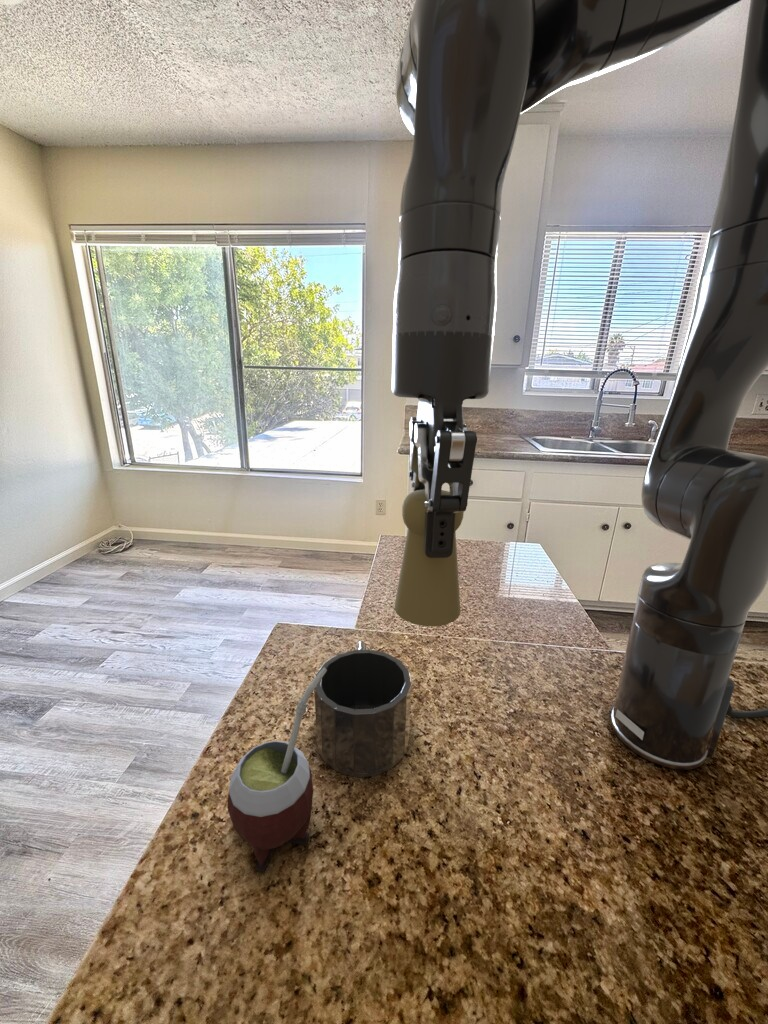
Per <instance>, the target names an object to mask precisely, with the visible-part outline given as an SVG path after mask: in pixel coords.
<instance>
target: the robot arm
mask: <svg viewBox="0 0 768 1024" xmlns="http://www.w3.org/2000/svg"><path fill="white" fill-rule="evenodd" d="M742 1H743V0H414V4H413V7H412V11H411V15H410V19H409V22H408V25H407V29H406V32H405V36H404V41H403V44H402V47H401V50H400V54H399V59H398V62H397V68H396V74H395V75H396V76H395V99H396V104H397V108H398V112H399V115H400V117H401V119H402V122H403V124H404V125H405V127H406V128H407V129H408V131H409V132H410V133H411V134H412V135H413V140H412V141H413V142H412V150H411V156H410V159H409V164H408V166H407V171H406V174H405V177H404V181H403V185H402V189H401V191H402V192H401V197H400V206H399V207H400V208H399V222H398V224H399V227H398V257H397V259H398V260H397V261H398V262H397V263H398V265H397V275H396V282H395V288H394V295H393V296H394V297H393V319H392V320H393V323H392V324H393V325H392V357H391V359H392V360H391V361H392V362H391V392H392V394H393V395H394V396H395V397H398V398H407V399H408V398H409V399H418V404H417V412H416V416H411V417H410V420H409V431H408V435H409V459H408V461H409V471H408V477H409V480H410V482H411V481H412V482H411V483H410V484H411V486H410V487H411V488H412V492H414V491H417V490H423V489H425V502H424V508H425V509H426V516H425V535H424V552H425V554H426V556H427V557H429V558H447V557H450V556H451V555H452V552H453V539H454V526H455V513H458V512H459V511H464V512H466V511H467V507H468V503H469V502H468V500H469V494H470V488H471V481H472V473H473V468H474V461H475V455H476V449H477V448H476V447H477V443H478V435H477V432H476V431H475V430H468V425H467V424H466V423H464V407H463V403H464V401H466V400H481V399H484V398H486V397H487V395H488V394H489V392H490V381H491V369H492V360H493V359H492V358H493V356H492V355H493V349H494V336H495V327H496V326H495V324H496V313H497V301H498V300H497V299H498V295H497V294H498V289H497V288H498V287H497V286H498V285H497V261H498V250H499V238H500V229H501V228H500V227H501V217H502V216H501V215H502V213H501V212H502V195H503V187H504V181H505V178H506V173H507V169H508V165H509V163H510V159H511V156H512V151H513V149H514V144H515V141H516V135H517V131H518V126H519V122H520V118H521V115H522V114H523V113H525V112H527V111H528V110H530V109H531V108H533V107H535V106H536V105H538V104H539V103H541V102H542V101H544V100H545V99H546V98H548V97H550V96H552V95H554V94H555V93H557V92H559V91H561V90H563V89H565V88H567V87H570V86H574V85H577V84H580V83H584V82H586V81H589V80H592V79H594V78H597V77H600V76H602V75H605V74H607V73H610V72H613V71H615V70H618V69H621V68H622V67H625V66H628V65H631V64H632V63H635V62H637V61H639V60H641V59H645V58H646V57H648V56H650V55H652V54H654V53H656V52H659V51H660V50H663V49H665V48H666V47H669V46H670V45H671V44H673V43H675V42H677V41H679V40H680V39H682V38H684V37H685V36H687V35H689V34H690V33H692V32H694V31H696V29H698V28H700V27H702V26H703V25H705V24H706V23H708V22H709V21H711V20H712V19H714V18H716V17H717V16H719V15H721V14H723V13H724V12H725V11H727V10H729V9H731V8H732V7H734V6H735V5H737V4H738V3H741V2H742ZM746 24H747V25H746V31H745V40H744V50H743V57H742V64H741V74H740V81H739V87H738V95H737V101H736V108H735V112H734V113H735V114H734V119H733V125H732V130H731V134H730V138H729V144H728V150H727V155H726V159H725V164H724V169H723V173H722V179H721V184H720V188H719V194H718V197H717V203H716V207H715V211H714V214H713V217H712V222H711V226H710V229H709V232H708V235H707V236H708V237H707V240H706V244H705V245H706V246H705V250H704V254H703V258H702V263H701V267H700V272H699V276H698V279H697V284H696V285H697V286H696V292H695V297H694V302H693V306H692V307H693V308H692V311H691V312H692V313H691V317H690V321H689V324H688V325H689V326H688V330H687V333H686V337H685V341H684V345H683V349H682V353H681V356H680V360H679V364H678V367H677V372H676V376H675V380H674V383H673V387H672V391H671V394H670V398H669V401H668V404H667V406H666V409H665V412H664V414H663V415H664V416H663V419H662V421H661V424H660V427H659V430H658V433H657V436H656V438H655V442H654V445H653V447H652V450H651V453H650V456H649V459H648V461H647V465H646V468H645V471H644V476H643V480H642V484H641V506H642V509H643V511H644V514H645V515H646V517H647V518H648V520H649V521H650V522H652V523H653V524H655V525H656V526H657V527H659V528H661V529H663V530H665V531H667V532H669V533H673V534H674V535H677V536H679V537H682V538H684V539H686V540H689V544H688V547H687V550H686V553H685V556H684V558H683V561H682V562H660V563H654V564H651V565H649V566H648V567H646V568H645V570H644V571H643V572H642V574H641V578H640V582H639V586H638V592H637V596H636V601H635V606H634V610H633V616H632V621H631V624H630V630H629V635H628V639H627V644H626V649H625V654H624V659H623V663H622V668H621V672H620V677H619V681H618V687H617V691H616V696H615V700H614V705H613V707H612V710H611V714H610V725H611V728H612V730H613V732H614V733H615V735H616V736H617V738H618V739H619V740H620V741H621V742H622V743H623V745H625V746H626V747H627V748H628V749H629V750H631V751H632V752H634V753H635V754H636V755H638V756H640V757H641V758H642V759H644V760H647V761H649V762H651V763H653V764H656V765H658V766H661V767H665V768H668V769H672V770H678V771H679V770H680V771H688V770H694V769H697V768H700V767H702V765H703V764H704V763H705V762H706V759H707V756H714V755H715V752H716V749H717V745H718V743H719V738H720V735H721V733H722V729H723V725H724V722H725V720H726V716H728V717H732V718H738V719H749V718H750V719H751V718H753V719H755V718H766V717H768V708H764V709H758V710H757V709H756V710H745V711H744V710H733V708H732V704H731V700H732V696H733V694H734V691H735V685H736V684H735V682H734V680H733V679H732V678H731V677H730V675H731V672H732V669H733V665H734V662H735V658H736V654H737V651H738V648H739V644H740V641H741V637H742V635H743V631H744V627H745V625H746V621H747V619H748V614H749V612H750V610H751V608H752V607H753V605H754V603H756V602H757V600H758V598H760V596H761V595H762V593H763V592H764V590H765V588H766V586H767V584H768V456H766V455H761V454H760V455H759V454H755V453H749V452H743V451H737V450H731V449H728V448H729V443H730V439H731V435H732V431H733V429H734V425H735V423H736V420H737V417H738V414H739V411H740V409H741V407H742V404H743V403H744V401H745V399H746V397H747V395H748V394H749V391H750V390H751V389H752V387H753V386H754V384H755V383H757V380H758V379H759V378H760V377H761V376H762V375H763V373H764V372H765V371H766V370H767V369H768V0H750V2H749V9H748V16H747V23H746ZM445 484H447V485H448V486H449V492H450V495H441V490H443V489H442V488H443V485H445Z"/></svg>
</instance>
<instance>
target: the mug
mask: <svg viewBox="0 0 768 1024" xmlns="http://www.w3.org/2000/svg"><path fill="white" fill-rule="evenodd" d="M323 667H324V668H326V670H327V671H326V673H325V674H324V676H323V677H322V678H321V680H320V681H319V683H318V684H317V686H316V687H315V689H314V690H313V692H314V714H315V738H316V739H315V740H316V745H317V749H318V752H319V755H320V757H321V758H322V760H323V761H324V763H325V764H326V765H328V767H330V768H331V769H333V770H334V771H336V772H337V773H339V774H342V775H345V776H349V777H355V778H368V777H369V778H370V777H374V776H379V775H381V774H384V773H385V772H388V771H389V770H391V769H392V768H394V767H395V766H396V765H397V764H399V762H400V761H402V759H403V757H404V755H405V754H406V752H407V750H408V745H409V740H410V730H411V728H410V727H411V705H412V678H411V674H410V670H409V669H408V668H407V667H406V665H405V664H404V663H403V662H402V661H401V660H400V659H399V658H397V657H396V656H393V655H391V654H390V653H387V652H384V651H380V650H375V649H367V645H366V642H365V641H362V640H359V641H358V642H357V644H356V649H352V650H348V651H344V652H342V653H338V654H335V655H334V656H332V657H331V658H329V659H328V660H326V661H325V662H323V664H321V666H320V668H319V669H318V671H316V673H315V677H316V676H317V675H318V673H319V672H320V671H321V670H322V668H323Z"/></svg>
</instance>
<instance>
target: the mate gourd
mask: <svg viewBox="0 0 768 1024" xmlns="http://www.w3.org/2000/svg"><path fill="white" fill-rule="evenodd" d="M326 671H327V670H326V668H324V667H323V668H322V670H321V671H320V672H319V673H318V675H317V676H316V675H315V676H314V679H313V680H312V681H311V682H310V684H308V686H307V687H306V689H305V691H304V693H303V695H302V696H301V698H300V699H299V700H298V702H297V705H296V708H295V716H294V720H293V725H292V728H291V729H292V730H291V733H290V736H289V741H283V740H270V741H264V742H262V743H260V744H257V745H256V746H253V747H252V748H251V749H250V750H248V751H247V753H245V754H244V755H243V756H242V757H241V758H240V760H239V762H238V763H237V765H236V766H235V768H234V770H233V772H232V773H231V775H230V779H229V786H228V794H227V811H228V814H229V818H230V820H231V824H232V826H233V828H234V830H235V832H236V833H237V835H238V836H239V837H240V838H241V839H243V840H244V842H246V843H247V844H248V846H250V847H251V848H252V850H253V853H254V855H255V857H256V859H257V862H256V864H255V867H254V869H255V872H257V873H259V874H260V873H261V874H263V873H265V872H266V869H267V867H268V866H269V862H270V860H271V857H272V855H273V853H274V850H275V849H276V848H279V847H281V846H282V845H284V844H286V843H291V844H295V845H299V846H307V845H308V844H309V843H308V842H309V840H310V833H309V832H307V831H308V828H309V825H310V822H311V819H312V808H313V807H312V806H313V797H314V785H313V775H312V770H311V767H310V763H309V761H308V759H307V758H306V756H305V754H304V753H303V752H302V751H301V750H300V749H299V748H298V747H296V743H297V738H298V736H299V731H300V727H301V723H302V719H303V716H304V715H305V713H306V711H307V708H308V701H309V699H310V698H311V696H312V694H313V692H314V689H315V687H316V686H317V684H318V683H319V681H320V680H321V678H322V677H323V676H324V674H325V673H326Z"/></svg>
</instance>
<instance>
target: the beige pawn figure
mask: <svg viewBox="0 0 768 1024" xmlns="http://www.w3.org/2000/svg"><path fill="white" fill-rule="evenodd" d="M441 495H450V490H449V491H448V490H443V489H442V490H441ZM424 502H425V489H423V490H417V491H412V492H410V493H408V494H407V495H406V497H405V498H404V500H403V502H402V503H403V504H402V508H401V510H402V511H401V515H402V521H403V523H404V525H405V526H406V528H407V531H406V539H405V543H404V549H403V554H402V560H401V565H400V571H399V577H398V583H397V589H396V593H395V600H394V609H393V610H394V612H395V613H396V615H397V616H398V617H399V618H401V619H402V620H404V621H406V622H408V623H410V624H414V625H416V626H417V625H418V626H422V627H439V626H446V625H449V624H452V623H454V622H455V621H456V620H457V619H458V618H459V617H460V615H461V611H462V610H461V601H460V600H461V595H460V583H459V581H460V580H459V565H458V549H457V548H458V547H457V535H456V534H457V533H456V531H457V530H458V529H459V528H460V527H461V525H462V522H463V519H464V515H465V514H464V513H465V511H459V512H458V513H455V526H454V539H453V552H452V555H451V556H450V557H447V558H429V557H427V556H426V554H425V552H424V535H425V516H426V509H425V508H424Z"/></svg>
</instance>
